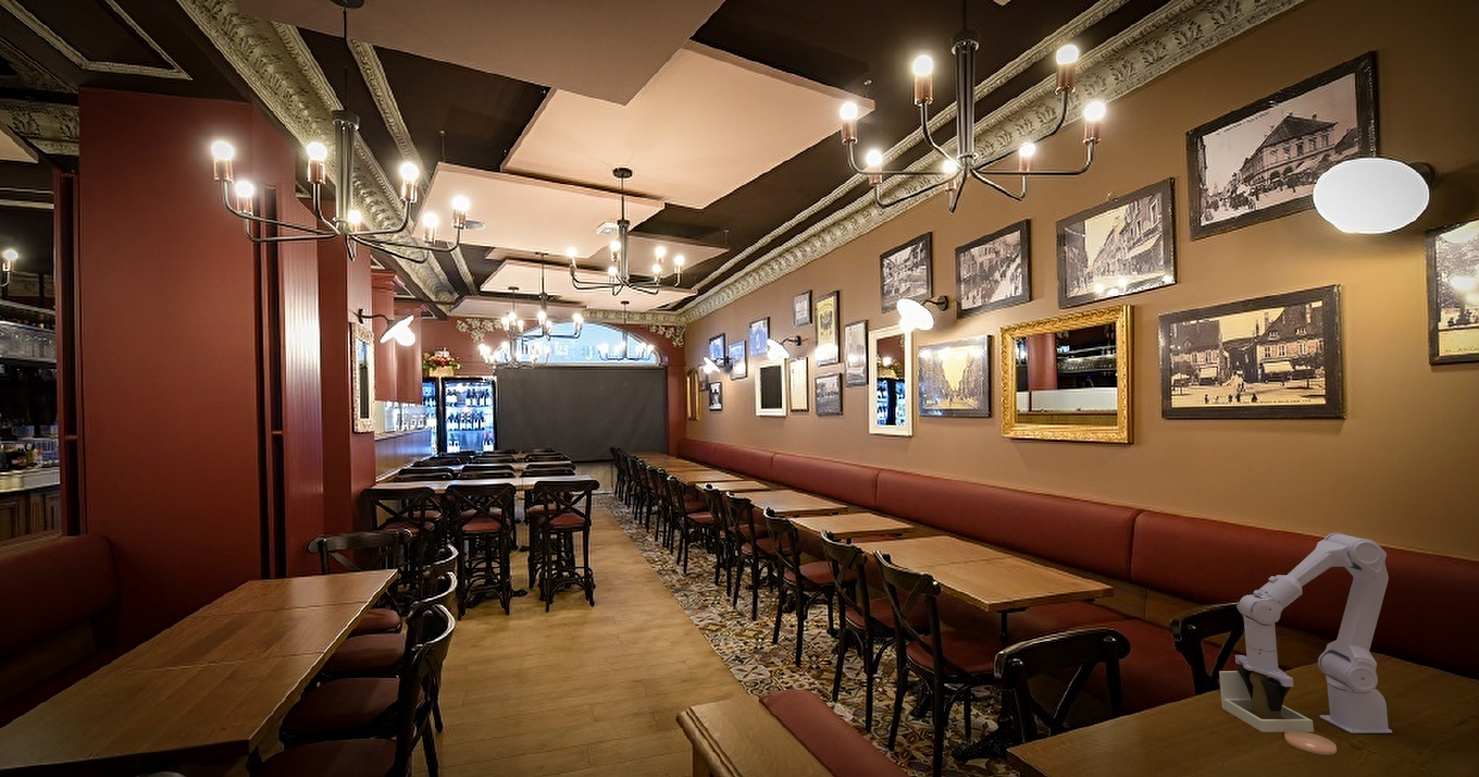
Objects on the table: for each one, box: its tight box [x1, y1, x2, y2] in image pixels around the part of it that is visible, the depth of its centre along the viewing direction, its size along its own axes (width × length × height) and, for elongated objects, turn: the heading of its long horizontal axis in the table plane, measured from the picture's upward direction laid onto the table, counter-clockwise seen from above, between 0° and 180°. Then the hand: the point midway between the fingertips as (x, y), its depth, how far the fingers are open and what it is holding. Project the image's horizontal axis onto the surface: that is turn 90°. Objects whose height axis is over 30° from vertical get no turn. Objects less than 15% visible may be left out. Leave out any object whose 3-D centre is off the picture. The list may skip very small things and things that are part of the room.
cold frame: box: [1218, 670, 1315, 733], centre depth 146 cm, size 12×12×9 cm
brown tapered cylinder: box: [1250, 671, 1283, 719], centre depth 146 cm, size 6×6×11 cm
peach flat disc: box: [1284, 731, 1338, 756], centre depth 134 cm, size 8×8×1 cm
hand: (1265, 705), depth 146 cm, fingers closed on brown tapered cylinder, 5 cm apart
